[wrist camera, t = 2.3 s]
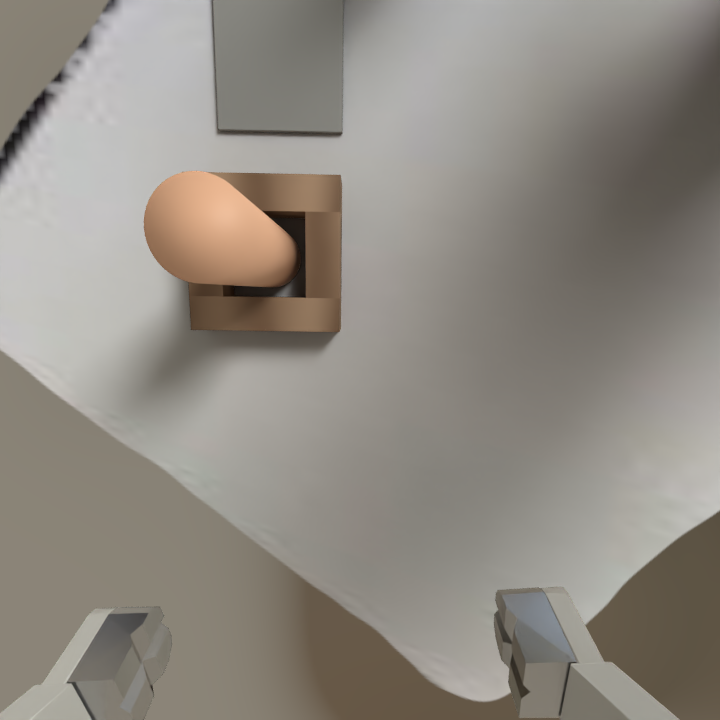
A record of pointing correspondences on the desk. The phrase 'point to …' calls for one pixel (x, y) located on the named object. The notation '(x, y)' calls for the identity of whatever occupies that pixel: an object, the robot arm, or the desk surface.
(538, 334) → the desk surface
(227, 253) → the peg
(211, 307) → the holder
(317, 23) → the mat
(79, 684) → the robot arm
